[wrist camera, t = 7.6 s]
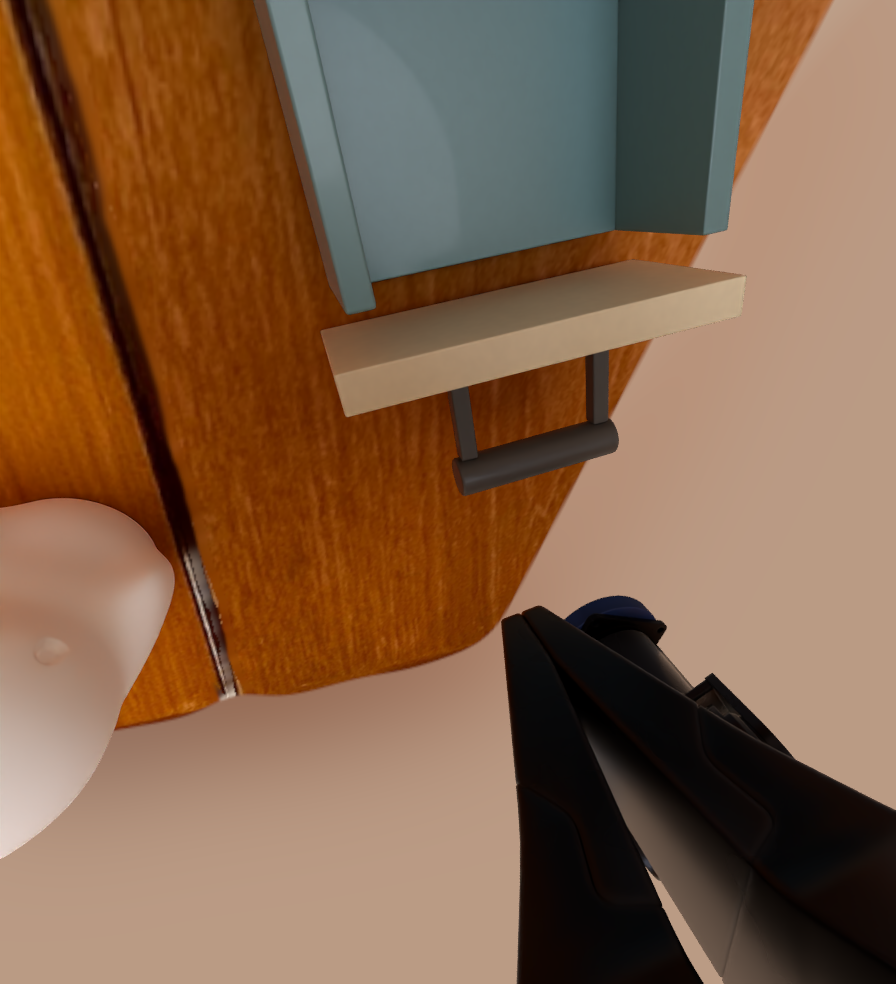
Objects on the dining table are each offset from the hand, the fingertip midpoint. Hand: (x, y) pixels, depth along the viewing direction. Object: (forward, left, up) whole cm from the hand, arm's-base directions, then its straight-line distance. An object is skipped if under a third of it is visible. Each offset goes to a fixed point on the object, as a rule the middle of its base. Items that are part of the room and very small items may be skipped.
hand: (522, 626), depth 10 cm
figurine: (+11, +9, -13) cm, 19 cm away
